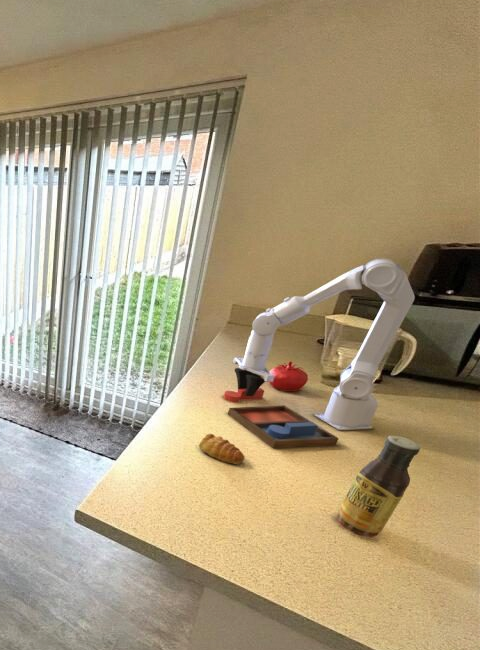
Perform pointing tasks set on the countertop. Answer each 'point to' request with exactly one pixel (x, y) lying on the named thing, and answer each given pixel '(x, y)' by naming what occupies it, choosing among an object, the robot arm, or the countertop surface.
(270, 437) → the sorting tray
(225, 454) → the pastry
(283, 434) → the blue spoon
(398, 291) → the robot arm
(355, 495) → the sauce bottle
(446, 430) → the countertop surface
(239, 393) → the red spoon
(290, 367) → the pomegranate
